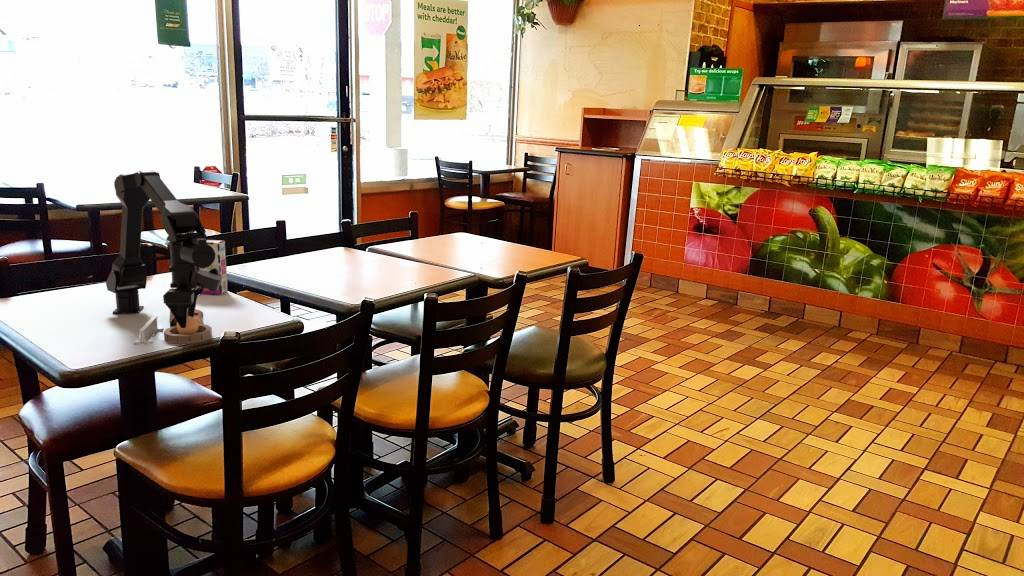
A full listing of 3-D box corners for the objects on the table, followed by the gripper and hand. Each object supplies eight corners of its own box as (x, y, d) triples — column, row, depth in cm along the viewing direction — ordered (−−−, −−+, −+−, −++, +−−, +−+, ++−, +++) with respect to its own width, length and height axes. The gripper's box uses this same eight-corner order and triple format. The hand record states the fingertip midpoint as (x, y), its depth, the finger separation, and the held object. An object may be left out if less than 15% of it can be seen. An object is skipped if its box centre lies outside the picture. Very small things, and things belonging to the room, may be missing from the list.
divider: (147, 330, 194) (146, 316, 194) (163, 329, 195) (162, 316, 194) (133, 344, 183) (132, 330, 182) (151, 344, 184) (150, 330, 183)
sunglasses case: (206, 328, 196) (190, 307, 193) (181, 343, 194) (165, 322, 191) (203, 311, 212) (188, 292, 209) (180, 326, 210) (165, 306, 207)
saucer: (170, 331, 194) (169, 324, 193) (215, 331, 196) (215, 323, 195) (159, 345, 183) (158, 336, 183) (207, 344, 185) (207, 335, 185)
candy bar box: (228, 292, 235) (225, 240, 232) (222, 296, 231) (219, 242, 227) (193, 290, 236) (189, 238, 232) (185, 294, 231) (182, 241, 227)
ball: (179, 332, 191) (178, 313, 190) (200, 332, 192) (199, 313, 191) (175, 338, 187) (173, 319, 185) (196, 338, 188) (195, 318, 186)
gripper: (211, 269, 178) (214, 332, 181) (224, 253, 196) (227, 312, 199) (160, 269, 176) (165, 333, 179) (178, 253, 193) (182, 312, 197)
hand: (187, 322), depth 189 cm, fingers open, 9 cm apart
